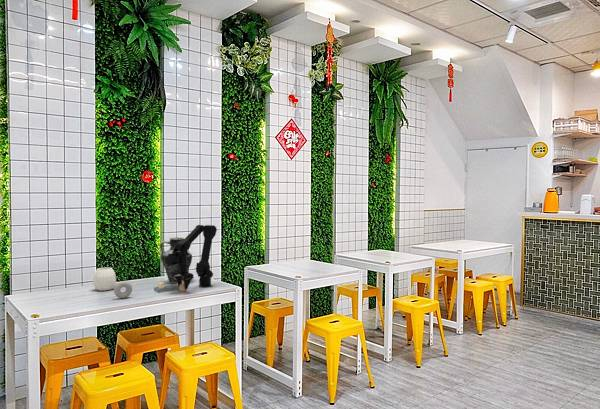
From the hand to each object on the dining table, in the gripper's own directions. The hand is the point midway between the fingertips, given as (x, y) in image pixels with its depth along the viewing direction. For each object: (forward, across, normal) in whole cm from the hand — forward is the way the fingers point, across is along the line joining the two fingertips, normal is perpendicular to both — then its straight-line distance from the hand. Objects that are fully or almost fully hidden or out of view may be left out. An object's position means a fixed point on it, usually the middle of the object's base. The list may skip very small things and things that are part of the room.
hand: (182, 288), depth 297 cm
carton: (+2, -10, -3) cm, 11 cm away
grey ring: (+2, -6, -34) cm, 35 cm away
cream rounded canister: (+2, -38, -35) cm, 51 cm away
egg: (+2, 0, 0) cm, 2 cm away
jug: (+2, -30, +9) cm, 31 cm away
